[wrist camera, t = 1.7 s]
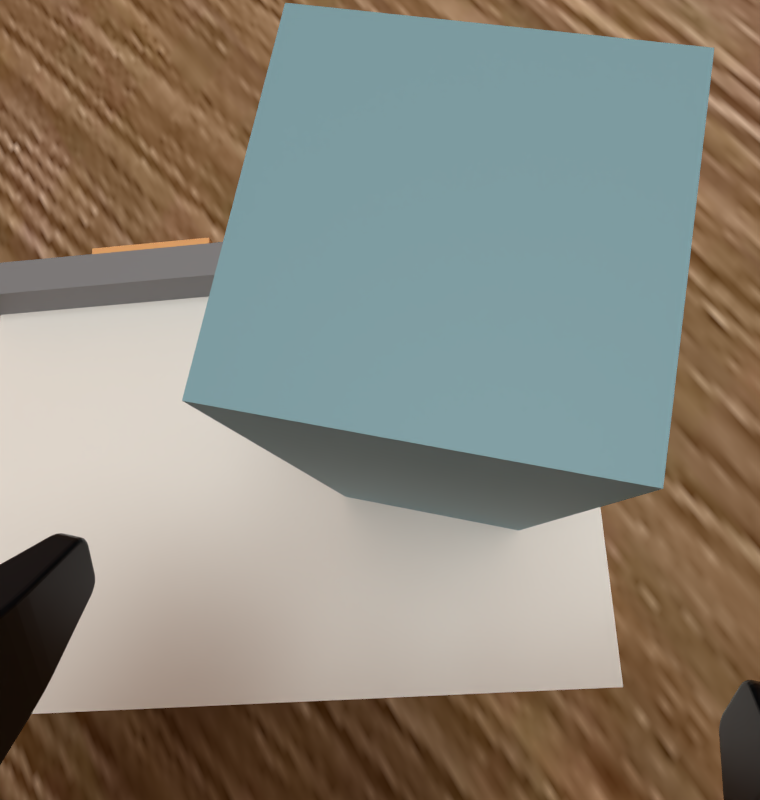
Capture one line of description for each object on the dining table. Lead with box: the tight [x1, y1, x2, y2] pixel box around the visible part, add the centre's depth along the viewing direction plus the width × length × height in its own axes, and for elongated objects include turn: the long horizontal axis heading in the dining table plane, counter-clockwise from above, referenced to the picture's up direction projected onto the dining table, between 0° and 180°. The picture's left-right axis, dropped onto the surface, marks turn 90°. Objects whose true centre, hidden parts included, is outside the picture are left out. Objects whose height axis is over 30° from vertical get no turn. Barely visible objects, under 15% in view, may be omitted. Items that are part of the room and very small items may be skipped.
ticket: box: [92, 238, 213, 254], centre depth 22 cm, size 1×4×2 cm, turn 94°
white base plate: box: [0, 242, 623, 714], centre depth 20 cm, size 13×18×3 cm
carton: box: [182, 3, 714, 530], centre depth 14 cm, size 5×5×13 cm
